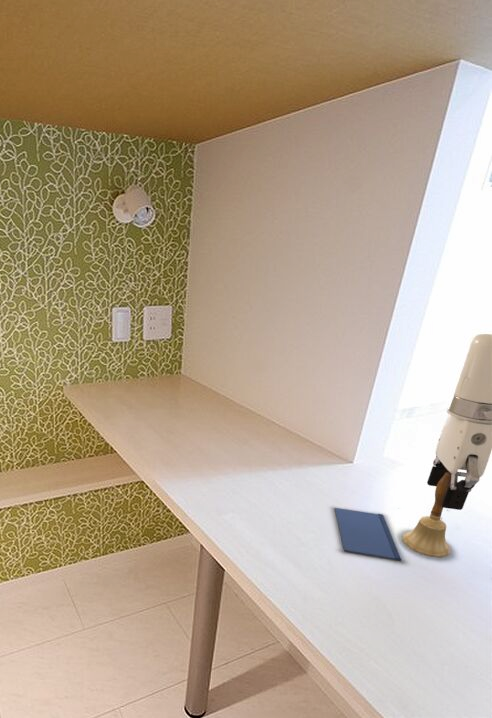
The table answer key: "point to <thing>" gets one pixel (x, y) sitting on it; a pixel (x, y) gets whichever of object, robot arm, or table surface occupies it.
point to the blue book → (366, 534)
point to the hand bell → (431, 527)
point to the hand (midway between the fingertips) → (443, 496)
